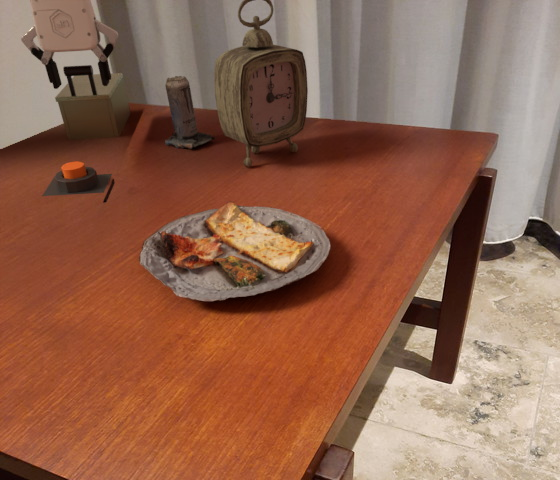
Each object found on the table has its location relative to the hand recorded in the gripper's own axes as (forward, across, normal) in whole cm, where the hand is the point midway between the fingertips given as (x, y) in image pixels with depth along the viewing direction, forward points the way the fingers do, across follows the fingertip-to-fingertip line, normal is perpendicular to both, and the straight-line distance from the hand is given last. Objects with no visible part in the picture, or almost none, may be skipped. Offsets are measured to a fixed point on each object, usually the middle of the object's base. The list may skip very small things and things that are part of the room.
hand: (82, 85), depth 104 cm
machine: (+11, 0, +7) cm, 13 cm away
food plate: (+11, +28, -49) cm, 58 cm away
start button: (+8, +2, -24) cm, 26 cm away
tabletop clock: (+11, +33, -11) cm, 37 cm away
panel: (+11, +2, -24) cm, 27 cm away
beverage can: (+11, +19, -2) cm, 22 cm away
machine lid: (+2, 0, +6) cm, 7 cm away
